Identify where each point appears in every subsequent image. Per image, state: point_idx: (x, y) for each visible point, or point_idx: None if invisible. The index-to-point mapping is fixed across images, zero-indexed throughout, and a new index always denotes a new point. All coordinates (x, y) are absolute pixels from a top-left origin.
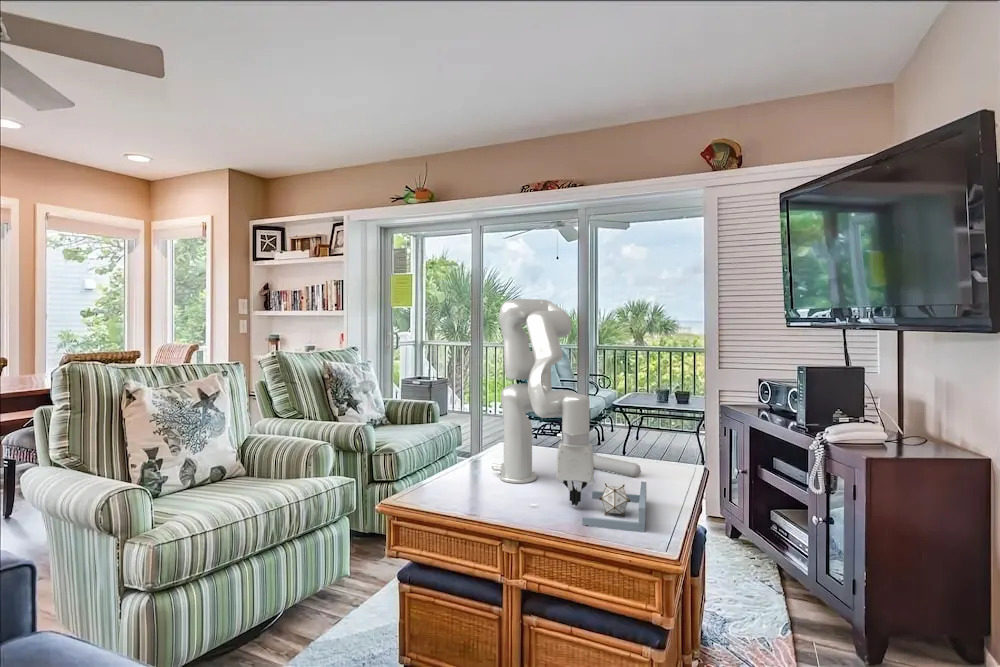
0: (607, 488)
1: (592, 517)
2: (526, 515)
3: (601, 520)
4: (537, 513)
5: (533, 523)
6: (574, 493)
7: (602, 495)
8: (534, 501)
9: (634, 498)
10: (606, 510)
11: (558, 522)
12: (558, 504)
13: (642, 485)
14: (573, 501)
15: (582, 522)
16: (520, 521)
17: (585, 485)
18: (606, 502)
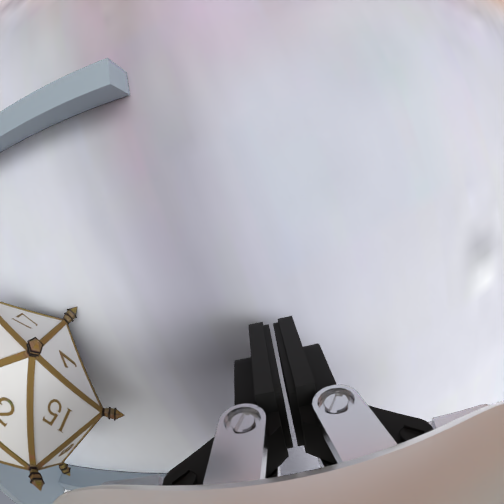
0: (11, 440)
1: (48, 105)
2: (479, 104)
3: (4, 110)
4: (451, 152)
5: (406, 2)
6: (287, 387)
7: (31, 381)
8: (483, 316)
9: (78, 477)
10: (54, 321)
11: (290, 46)
12: (381, 347)
13: (12, 496)
14: (281, 334)
15: (119, 67)
16: (462, 21)
17: (176, 469)
18: (7, 323)
